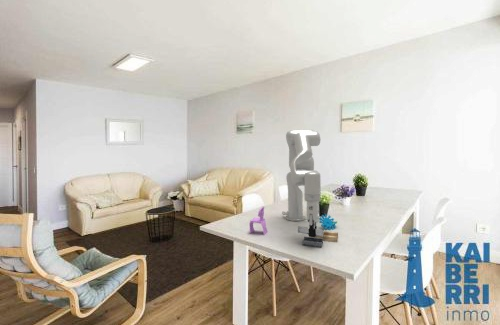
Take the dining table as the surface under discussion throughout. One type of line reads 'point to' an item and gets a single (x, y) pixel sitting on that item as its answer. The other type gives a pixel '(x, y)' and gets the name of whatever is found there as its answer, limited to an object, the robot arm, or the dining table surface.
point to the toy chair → (259, 221)
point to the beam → (329, 236)
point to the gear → (327, 222)
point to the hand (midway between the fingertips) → (312, 234)
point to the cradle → (312, 242)
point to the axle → (306, 231)
